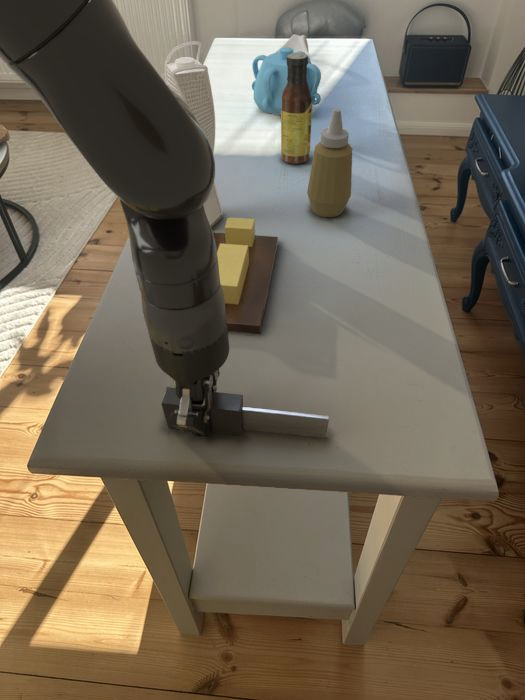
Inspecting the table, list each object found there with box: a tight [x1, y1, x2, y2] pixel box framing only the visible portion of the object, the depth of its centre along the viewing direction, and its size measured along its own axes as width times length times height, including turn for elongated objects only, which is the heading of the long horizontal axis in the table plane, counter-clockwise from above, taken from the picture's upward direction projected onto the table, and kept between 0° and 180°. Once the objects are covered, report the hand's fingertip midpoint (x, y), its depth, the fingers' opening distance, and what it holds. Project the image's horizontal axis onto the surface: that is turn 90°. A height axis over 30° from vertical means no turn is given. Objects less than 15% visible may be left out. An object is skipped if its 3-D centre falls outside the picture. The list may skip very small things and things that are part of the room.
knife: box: [160, 386, 330, 439], centre depth 56 cm, size 19×2×5 cm, turn 82°
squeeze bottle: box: [306, 108, 353, 218], centre depth 84 cm, size 8×8×18 cm
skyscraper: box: [164, 40, 224, 229], centre depth 79 cm, size 8×8×28 cm
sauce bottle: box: [280, 53, 313, 165], centre depth 98 cm, size 7×6×20 cm
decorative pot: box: [251, 47, 322, 116], centre depth 119 cm, size 16×16×14 cm
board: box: [212, 231, 279, 334], centre depth 76 cm, size 12×22×2 cm, turn 172°
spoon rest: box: [276, 33, 311, 59], centre depth 142 cm, size 24×12×7 cm, turn 166°
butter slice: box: [224, 217, 256, 247], centre depth 80 cm, size 4×3×4 cm, turn 82°
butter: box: [217, 244, 249, 305], centre depth 73 cm, size 4×10×4 cm, turn 172°
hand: (205, 423), depth 58 cm, fingers closed
